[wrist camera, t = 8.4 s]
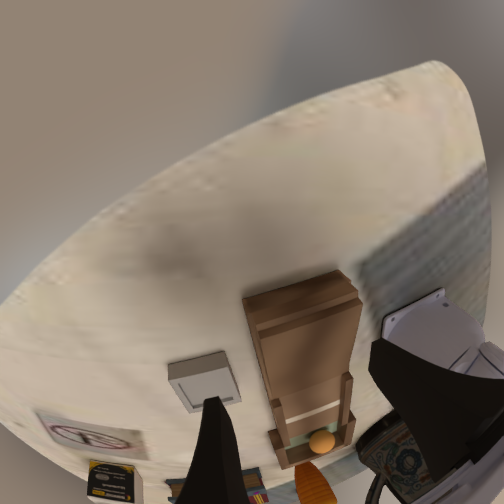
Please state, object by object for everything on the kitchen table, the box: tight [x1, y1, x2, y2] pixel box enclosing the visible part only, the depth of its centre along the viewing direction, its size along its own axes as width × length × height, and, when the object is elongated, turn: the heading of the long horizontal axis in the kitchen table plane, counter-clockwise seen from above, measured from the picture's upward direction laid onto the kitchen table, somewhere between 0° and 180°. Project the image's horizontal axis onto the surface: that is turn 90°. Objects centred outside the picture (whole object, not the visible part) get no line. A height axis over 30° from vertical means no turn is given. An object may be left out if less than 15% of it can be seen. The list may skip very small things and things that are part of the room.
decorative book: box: [165, 467, 269, 504], centre depth 31 cm, size 11×16×5 cm
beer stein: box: [356, 410, 457, 504], centre depth 27 cm, size 16×19×25 cm
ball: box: [309, 430, 335, 453], centre depth 29 cm, size 4×4×4 cm
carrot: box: [294, 461, 337, 504], centre depth 26 cm, size 5×5×15 cm
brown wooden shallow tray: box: [242, 270, 363, 470], centre depth 24 cm, size 10×28×4 cm, turn 11°
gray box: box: [168, 351, 242, 414], centre depth 21 cm, size 5×5×2 cm
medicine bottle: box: [87, 460, 144, 504], centre depth 22 cm, size 7×7×12 cm
